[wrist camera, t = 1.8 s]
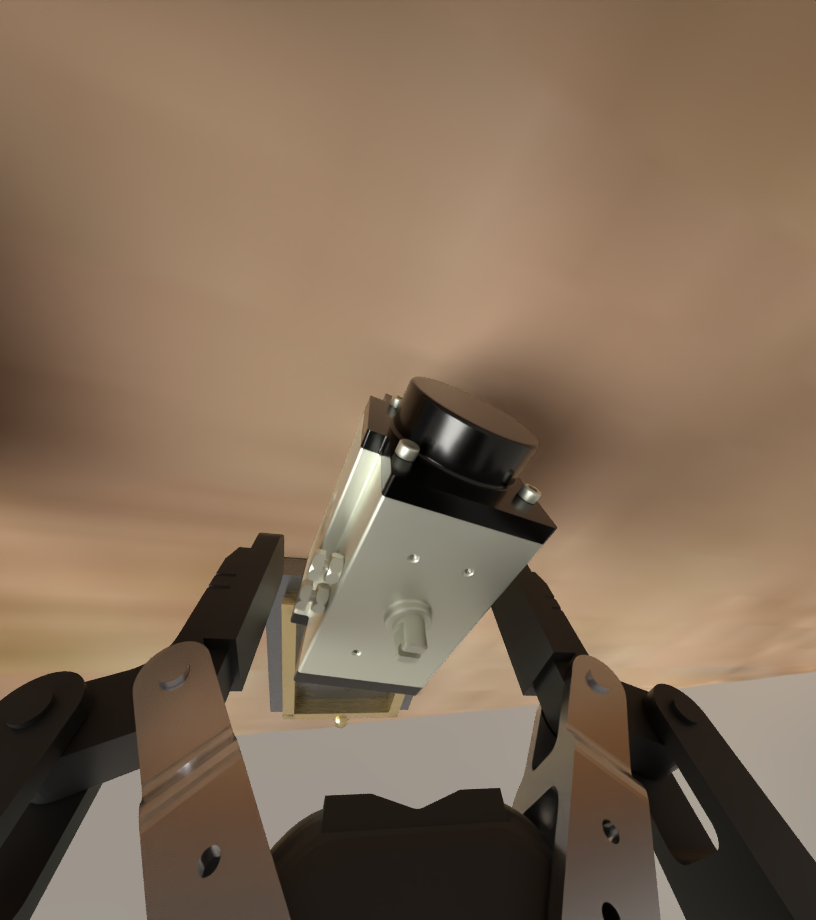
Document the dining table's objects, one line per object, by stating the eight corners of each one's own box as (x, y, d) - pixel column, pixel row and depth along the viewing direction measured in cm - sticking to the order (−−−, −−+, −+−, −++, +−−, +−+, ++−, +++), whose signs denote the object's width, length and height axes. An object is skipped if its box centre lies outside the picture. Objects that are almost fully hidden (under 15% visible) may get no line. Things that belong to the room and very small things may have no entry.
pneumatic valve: (471, 377, 17) (631, 515, 6) (391, 528, 21) (404, 750, 11) (378, 334, 15) (379, 422, 5) (315, 507, 20) (246, 740, 9)
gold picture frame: (270, 556, 22) (255, 592, 19) (452, 568, 24) (461, 602, 21) (275, 694, 31) (265, 731, 28) (406, 693, 33) (408, 727, 31)
